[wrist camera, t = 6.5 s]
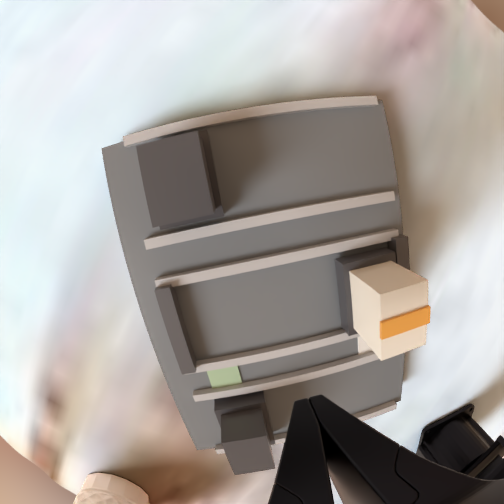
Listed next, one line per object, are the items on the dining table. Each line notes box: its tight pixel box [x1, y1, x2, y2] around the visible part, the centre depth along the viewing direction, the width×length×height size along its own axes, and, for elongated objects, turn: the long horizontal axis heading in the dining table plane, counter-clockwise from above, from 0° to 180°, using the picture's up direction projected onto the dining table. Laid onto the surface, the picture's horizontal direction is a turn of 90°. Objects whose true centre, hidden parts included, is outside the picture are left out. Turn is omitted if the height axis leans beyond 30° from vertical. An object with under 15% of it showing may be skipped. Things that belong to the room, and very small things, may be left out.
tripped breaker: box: [335, 247, 430, 361], centre depth 14 cm, size 3×4×5 cm
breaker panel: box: [102, 96, 410, 475], centre depth 15 cm, size 15×20×5 cm
